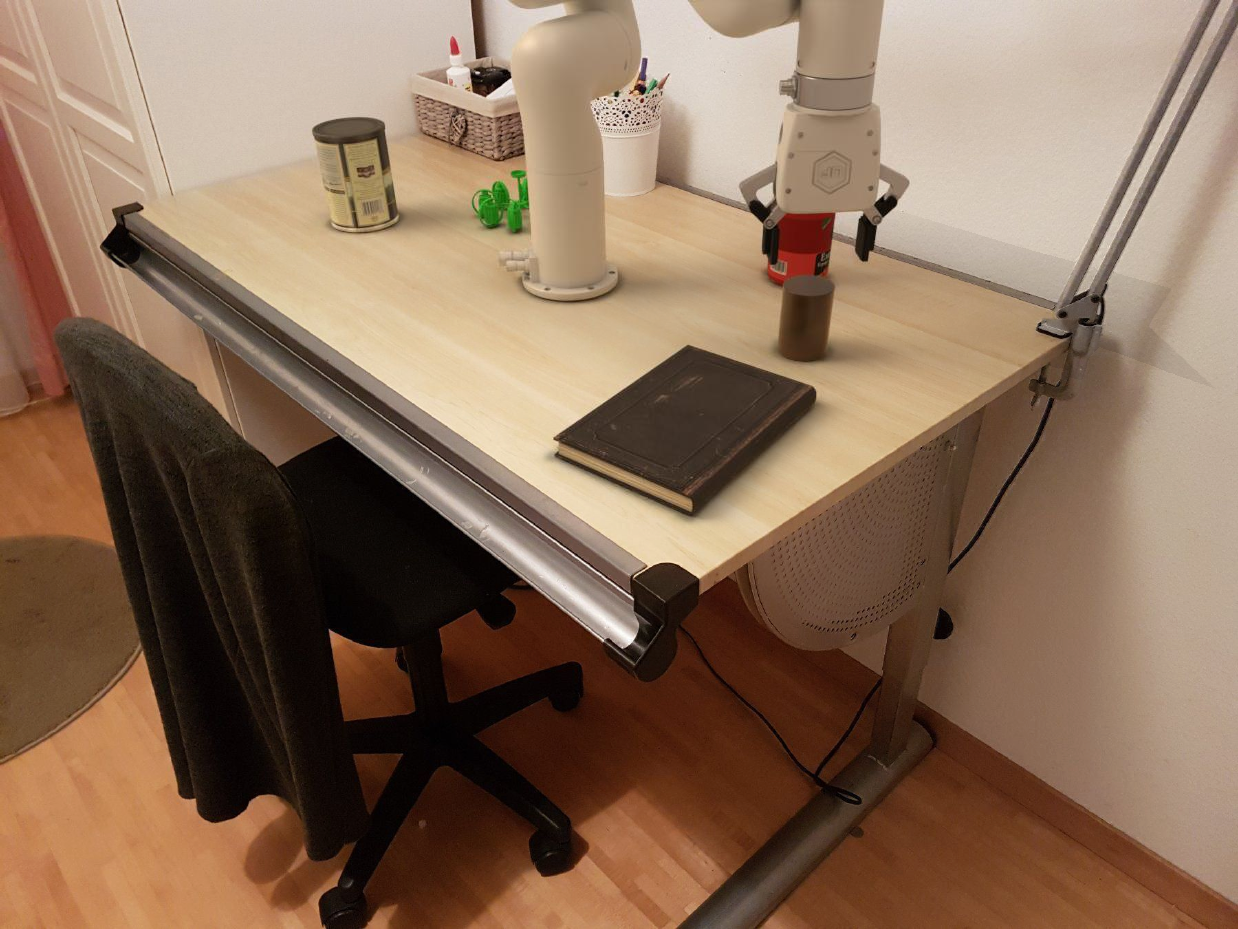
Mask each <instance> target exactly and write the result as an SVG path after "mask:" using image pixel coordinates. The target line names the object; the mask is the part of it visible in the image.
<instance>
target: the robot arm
mask: <svg viewBox="0 0 1238 929" xmlns="http://www.w3.org/2000/svg"><path fill="white" fill-rule="evenodd" d="M508 2H510V3H511V4H512V5H513V6H516V7H517V8H520V9H525V10H536V9H537V10H538V9H542V8H548V7H552V6H557V5H561V4H563V8H564V11H565V14H566V15H563V16H560V17H555V18H553V19H548V20H545V21H542V22H539V23H537V24H535V25H533V26H532V27H530V28H528V29H527V30H526V31H524V32H523V33H522V34H521V35H520V37H519V38H518V39H517V41H516V43H515V45H514V46H513V49H512V52H511V56H510V65H509V66H510V76H511V82H512V87H513V90H514V94H515V97H516V102H517V105H518V109H519V114H520V120H521V125H522V134H523V145H524V157H525V167H526V178H527V182H528V196H529V206H528V207H529V208H528V210H529V223H530V236H531V237H530V238H531V239H530V240H531V241H530V246H529V247H528V248H523V249H522V251H513V250H499V251H498V265H499V267H506V272H509V273H511V272H522V276H521V278H522V280H521V281H522V285H523V287H524V289H525V290H526V291H528V293H530V294H532V295H534V296H536V297H538V298H543V299H545V300H551V301H562V302H563V301H564V302H569V301H572V302H574V301H583V300H589V299H593V298H596V297H600V296H602V295H604V294H607V293H609V292H610V291H611V290H613V289H614V288H615V287H616V286H617V284H618V282H619V272H618V269H617V267H616V266H615V265H614V264H612V263H611V262H609V261H608V260H607V251H606V250H607V247H606V245H607V244H606V243H607V242H606V202H605V196H606V195H605V194H606V193H605V162H604V160H605V159H604V142H603V136H602V132H601V130H600V126H599V124H598V122H597V119H596V117H595V114H594V111H593V109H592V103H591V102H593V101H595V100H597V99H599V98H602V97H605V96H607V95H610V94H614V93H616V92H618V91H620V90H622V89H625V88H626V87H627V86H628V85H629V84H631V83H632V81H633V80H634V79H635V77H636V76H637V74H638V72H639V69H640V67H641V62H642V39H641V34H640V29H639V24H638V21H637V16H636V12H635V7H634V3H633V0H508ZM687 2H689V4H690V6H691V7H692V9H693V10H694V11H695V12H696V14H697V15H698V16H699V17H700V18H701V20H702V21H703V22H704V23H705V24H707V25H708V27H710V28H711V29H712V30H714V31H715V32H717V33H719V34H720V35H721V36H724V37H728V38H732V39H744V38H747V37H750V36H754V35H757V34H760V33H762V32H766V31H768V30H771V29H776V28H779V27H780V28H781V27H784V26H786V25H787V26H788V25H790V24H792V23H793V24H794V23H798V33H797V48H796V57H795V59H796V60H795V69H794V70H793V74H792V75H791V78H787V79H781V80H780V81H779V84H778V85H779V86H778V87H779V88H778V94H779V95H780V96H787V97H790V99H791V100H792V101H791V102H788V103H787V104H786V106H785V110H784V112H783V116H782V121H781V126H780V130H779V135H778V140H777V146H776V153H775V159H774V163H773V164H772V165H769V166H767V167H766V168H764V169H762V170H760V171H758V172H756V173H754V174H753V175H751V176H749V177H747V178H745V179H743V180H741V181H740V182H739V184H738V188H739V190H740V193H741V195H742V197H743V198H744V199H743V200H744V201H745V203H746V206H747V207H748V210H749V212H750V213H751V214H752V215H753V216H754V217H755V218H756V219H757V220H758V221H759V222H760V223H761V224H762V237H761V253H762V255H763V256H765V255H766V258H767V261H768V260H769V262H770V265H776V264H777V263H778V251H779V238H780V229H779V227H778V225H777V223H778V222H779V221H780V220H781V219H782V217H783V216H784V215H785V214H786V213H787V212H788V213H793V214H807V213H836V214H837V213H855V212H862V215H859V216H860V217H859V218H858V221H857V229H856V236H855V237H856V239H855V245H854V252H855V254H856V256H857V257H858V260H860V261H861V262H863V263H867V262H869V257H870V252H873V251H874V250H875V245H876V237H877V230H878V226H879V225H880V224H881V223H882V222H883V219H884V218H885V217H886V216H887V215H889V213H891V212H892V211H893V210H894V209H895V208H896V207H897V206H898V203H899V200H900V199H901V198H902V197H903V195H904V194H905V192H906V191H907V189H908V188H909V187H910V180H909V179H908V178H907V177H906V175H904V174H902V173H901V172H898V171H896V170H894V169H893V168H891V167H888V166H887V165H885V164H883V163H881V155H882V154H881V149H882V148H881V147H882V120H881V119H882V118H881V108H880V106H879V105H878V104H876V103H874V102H872V101H873V95H874V86H875V78H876V70H877V62H878V53H879V47H880V37H881V30H882V21H883V13H884V5H885V0H687ZM880 180H881V181H883V182H885V183H887V184H889V187H888V189H887V190H886V192H885V193H884V194H883V195H881V196H880V197H879V198H878V193H879V185H880ZM770 184H772V194H773V197H774V196H775V197H774V198H773V197H772V199H771V200H770V201H769V202H768V203H767V205H764V204H763V202H761V201H760V199H759V198H758V196H757V192H758V191H759V190H761V189H762V188H765V187H766V186H769V185H770Z"/></svg>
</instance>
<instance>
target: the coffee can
mask: <svg viewBox="0 0 1238 929" xmlns="http://www.w3.org/2000/svg"><path fill="white" fill-rule="evenodd" d="M311 133H312V137H313V138H314V143H315V147H316V148H315V149H316V152H317V158H318V163H319V167H320V168H319V169H320V172H321V177H322V182H323V187H324V191H325V196H326V200H327V205H328V206H327V207H328V211H329V216H330V220H331V221H330V224H331V226H332V227H333V228H334V229H335V230H338V231H341V232H345V233H368V232H375V231H380V230H383V229H386V228H388V227H391V226H392V225H394V224H396V223H397V222H398V221H399V219H400V214H399V210H398V204H397V199H396V192H395V186H394V179H393V174H392V168H391V161H390V160H391V159H390V154H389V148H388V142H387V135H386V124H385V121H383V120H381V119H378V118H374V117H368V116H367V117H366V116H352V117H351V116H349V117H348V116H347V117H340V118H335V119H334V118H333V119H330V120H326V121H323V122H320V123H317V124H315V125H314V126H313V127H312V129H311Z"/></svg>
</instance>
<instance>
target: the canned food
mask: <svg viewBox="0 0 1238 929" xmlns="http://www.w3.org/2000/svg"><path fill="white" fill-rule="evenodd" d="M774 197H775V196H774V195H773V197H772V199H773V198H774ZM836 215H837V212H836V213H807V214H793V213H788V212H787V213H786V214H785V215H784V216H783V217H782V219H781V220H780V221H779V222H778V223H777V225H778V227H779V229H780V238H779V251H778V263H777V264H776V265H770V262H769V260H768V259H767V263H766V264H767V265H766V272H767V276H768V278H769V279H770V280H771V281H772V282H773V283H774V284H777V285H779V286H782V287H783V284H784V282H785V280H786V279H788V278H790V277H793V276H798V275H814V276H819V277H823V278H826V279H827V277H828V274H829V266H830V259H831V252H832V244H833V237H834V229H835V222H836Z"/></svg>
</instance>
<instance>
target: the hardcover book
mask: <svg viewBox="0 0 1238 929" xmlns="http://www.w3.org/2000/svg"><path fill="white" fill-rule="evenodd" d="M816 400H817V389H816V388H815V387H814V386H813V385H811V384H809V383H807V382H806V383H805V382H803V381H799V380H796V379H794V378H791V377H787V376H784V375H782V374H778V373H776V372H772V371H769V370H766V369H763V368H760V367H757V366H754V365H751V364H748V363H745V362H742V361H739V360H736V359H734V358H733V359H732V358H731V357H726V356H724V355H721V354H718V353H715V352H712V351H709V350H706V349H703V348H699V347H697V346H693V345H690V344H686V345H685V346H684V347H682V348H680V349H679V350H678V351H676V352H675V353H674V354H672V355H670V356H669V357H667V358H666V359H665V360H663V361H662V362H661V363H659V364H658V365H656V366H655V367H653V368H652V369H650V370H649V371H647V372H646V373H645V374H643V375H642V376H640V377H639V378H637V379H636V380H634V381H633V382H631V383H630V384H629V385H627V386H625V387H624V388H623V389H622V390H620V391H618V392H617V393H615V394H614V395H612V396H611V397H609V398H608V399H607V400H606V401H604V402H603V403H601V404H599V405H598V406H597V407H595V408H594V409H592V410H591V411H589V412H588V413H586V414H585V415H584V416H582V417H581V418H579V419H578V420H576V421H575V422H573V423H572V424H570V425H569V426H568V427H565V429H563V430H562V431H561V432H559V433H558V434H556V435H555V436H553V438H552V439H553V441H554V442H555V441H556V442H557V444H558V446H557V449H558V451H556V452H555V453H554V455H553V456H554V457H556V458H557V459H560V460H562V461H564V462H566V463H569V464H572V465H573V466H576V467H578V468H580V469H582V470H584V471H587V472H589V473H591V474H594V475H596V476H599V477H601V478H603V479H605V480H608V481H610V482H612V483H614V484H616V485H618V486H621V487H623V488H626V489H628V490H630V491H633V492H635V493H637V494H639V495H641V496H644V497H646V498H647V499H650V500H653V501H655V502H657V503H660V504H662V505H664V506H666V507H668V508H671V509H673V510H675V511H677V512H680V513H682V514H684V515H686V516H691V515H694V513H695V512H696V511H697V510H699V508H701V507H702V506H703V505H704V504H705V503H706V502H707V501H709V500H710V499H711V498H712V497H713V496H714V495H715V494H716V493H717V492H719V491H720V489H722V488H723V487H724V486H725V485H726V484H728V482H730V480H732V479H733V478H734V477H735V476H736V475H737V474H738V473H739V472H741V470H743V469H744V468H745V467H746V466H747V465H748V464H750V462H751V461H752V460H753V459H755V458H756V457H757V456H758V455H759V454H760V453H762V451H764V450H765V449H766V447H768V446H769V445H770V444H771V443H772V442H773V441H774V440H775V439H777V438H778V437H779V436H780V435H782V434H783V432H784V431H785V430H787V428H789V427H790V426H791V425H792V424H793V423H794V422H796V420H798V418H800V417H801V416H802V415H803V414H804V413H805V412H806V411H807V410H808V409H810V408H811V407H812V406H813V405H814V404H815V403H816Z"/></svg>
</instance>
